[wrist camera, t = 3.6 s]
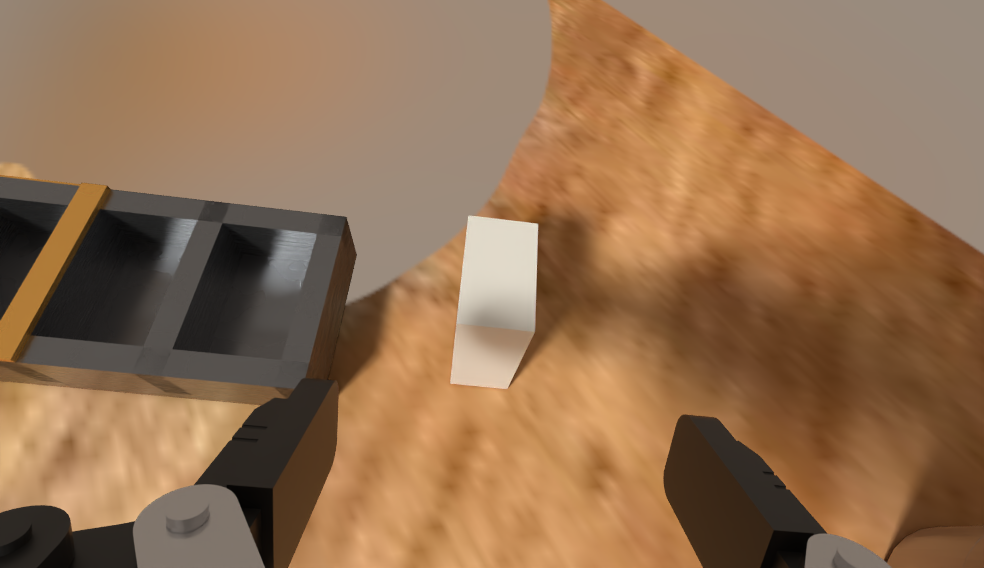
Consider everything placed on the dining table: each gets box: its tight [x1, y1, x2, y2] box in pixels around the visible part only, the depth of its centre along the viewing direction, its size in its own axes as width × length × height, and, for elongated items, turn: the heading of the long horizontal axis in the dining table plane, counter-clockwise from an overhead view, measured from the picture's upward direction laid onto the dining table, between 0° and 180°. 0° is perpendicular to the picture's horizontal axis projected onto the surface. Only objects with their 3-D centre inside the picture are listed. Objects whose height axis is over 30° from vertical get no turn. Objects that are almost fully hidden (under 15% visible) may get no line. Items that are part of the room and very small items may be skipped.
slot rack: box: [0, 175, 357, 405], centre depth 24 cm, size 19×9×4 cm, turn 86°
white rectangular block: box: [450, 216, 538, 389], centre depth 23 cm, size 3×5×8 cm, turn 176°
